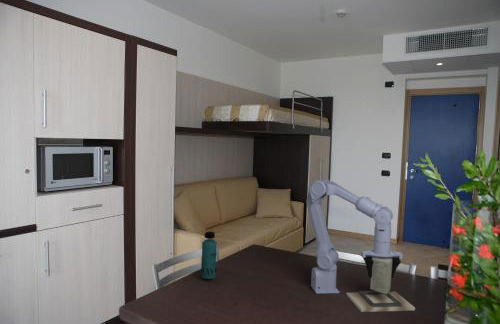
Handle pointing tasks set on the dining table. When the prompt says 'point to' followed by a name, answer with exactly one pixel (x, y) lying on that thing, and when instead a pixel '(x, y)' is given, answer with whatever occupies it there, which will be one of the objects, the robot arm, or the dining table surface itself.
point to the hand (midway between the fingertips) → (380, 276)
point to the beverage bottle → (209, 256)
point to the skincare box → (381, 274)
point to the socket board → (379, 301)
